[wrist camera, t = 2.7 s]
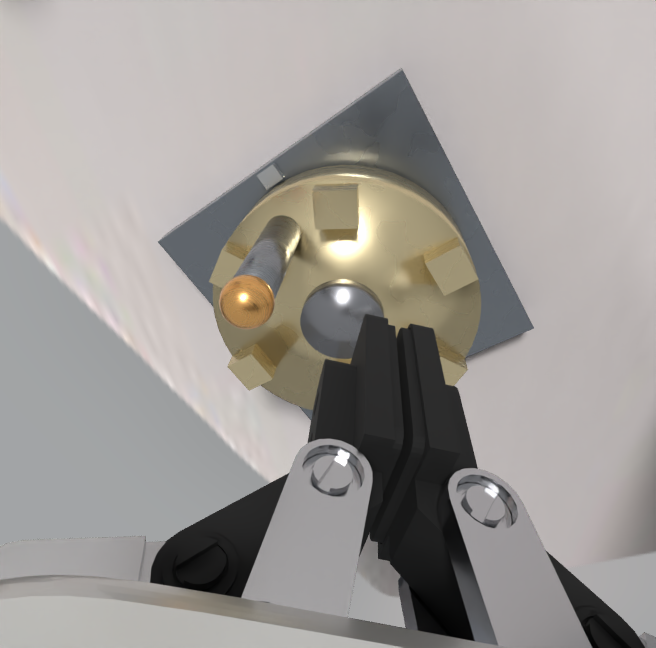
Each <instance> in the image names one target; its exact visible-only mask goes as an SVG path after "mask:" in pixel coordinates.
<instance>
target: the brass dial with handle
mask: <svg viewBox="0 0 656 648" xmlns="http://www.w3.org/2000/svg"><path fill="white" fill-rule="evenodd" d="M209 282H210V283H212V284H213V306H214V313H215V318H216V321H217V325H218V328H219V331H220V333H221V336H222V338H223V340H224V342H225V344H226V346H227V348H228V349H229V351H230V353H231V354H232V358H231V360H230V362H229V364H228V368H229V369H230V370H231V371H232V372H233V373H234V375H235V376H236V377H237V378H238V379H239V380H240V381H241V382H242V383H243V385H244V386H245V387H246V388H247V389H248V390H251V389H253V388H255V387H258V386H260V385H261V386H262V387H264V388H265V389H267V390H268V391H270V392H271V393H273V394H274V395H276V396H278V397H280V398H282V399H284V400H286V401H288V402H290V403H292V404H295V405H298V406H300V407H303V408H306V409H310V410H313V407H314V402H315V397H316V393H317V388H318V384H319V380H320V376H321V372H322V368H323V364H324V361H325V359H329V360H333V361H338V362H343V363H347V364H350V363H351V360H352V356H353V353H354V349H355V346H356V342H357V339H358V335H359V332H360V328H361V325H362V322H363V318H364V316H365V314H370V315H374V316H379V317H384V318H387V319H388V325H393V326H395V329H396V338H397V335H398V332H399V330H400V328H401V327H402V328H408V326H409V325H410V324H416V325H420V326H425V327H430V328H433V329H434V332H435V337H436V342H437V346H438V351H439V356H440V360H441V365H442V370H443V374H444V379H445V384H447V385H451V386H454V385H455V384H456V383H457V381H458V380H459V379H460V378H461V377H462V376H463V375H464V373H465V372H466V371H467V370H468V369H467V365H466V361H465V357H466V355H467V354H468V352H469V350H470V348H471V346H472V344H473V341H474V339H475V336H476V333H477V330H478V325H479V320H480V315H481V293H480V284H479V280H478V276H477V273H476V269H475V266H474V264H473V261H472V259H471V256H470V254H469V251H468V249H467V246H466V244H465V241H464V239H463V237H462V235H461V232H460V230H459V228H458V226H457V225H456V223H455V222H454V220H453V219H452V217H451V215H450V214H449V213H448V212H447V211H446V209H445V208H444V207H443V206H442V205H441V204H440V202H439V201H437V200H436V199H435V198H434V197H433V196H432V195H431V194H429V193H428V192H427V191H426V190H424V189H423V188H421V187H420V186H418V185H417V184H415V183H414V182H412V181H410V180H408V179H406V178H404V177H402V176H399V175H397V174H395V173H392V172H389V171H385V170H382V169H379V168H374V167H368V166H362V165H334V166H325V167H321V168H316V169H312V170H308V171H305V172H303V173H300V174H298V175H295V176H293V177H291V178H289V179H287V180H285V181H284V182H282V183H280V184H278V185H277V186H275V187H274V188H273V189H272V190H270V191H269V192H268V193H266V194H265V195H264V196H263V197H262V198H261V199H260V200H259V201H258V202H257V203H256V204H255V205H254V206H253V207H252V209H251V210H250V211H249V213H248V214H247V215H246V216H245V218H244V219H243V220H242V222H241V223H240V224H239V226H238V227H237V228H236V230H235V231H234V232H233V234H232V235H231V237H230V238H229V240H228V241H227V243H226V245H225V246H224V247H223V249H222V250H221V253H220V255H219V258H218V260H217V263H216V265H215V268H214V270H213V273H212V275H211V278H210V281H209Z"/></svg>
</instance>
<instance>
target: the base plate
mask: <svg viewBox="0 0 656 648" xmlns="http://www.w3.org/2000/svg"><path fill="white" fill-rule="evenodd" d="M334 165H362V166H368V167H374V168H379V169H382V170H385V171H389V172H392V173H395V174H397V175H399V176H402V177H404V178H406V179H408V180H410V181H412V182H414V183H415V184H417V185H418V186H420V187H421V188H423V189H424V190H426V191H427V192H428V193H429V194H431V195H432V196H433V197H434V198H435V199H436V200H437V201H439V202H440V204H441V205H442V206H443V207H444V208H445V209H446V211H447V212H448V213H449V214H450V215H451V217H452V219H453V220H454V222H455V223H456V225H457V226H458V228H459V230H460V232H461V235H462V237H463V239H464V241H465V244H466V246H467V249H468V251H469V254H470V256H471V259H472V261H473V264H474V266H475V269H476V273H477V276H478V280H479V284H480V293H481V315H480V320H479V325H478V330H477V333H476V336H475V339H474V341H473V344H472V346H471V348H470V350H469V352H468V354H467V355H466V357H468V356H470V355H472V354H475V353H477V352H479V351H482V350H484V349H486V348H489V347H491V346H493V345H496V344H498V343H501V342H503V341H505V340H508V339H510V338H512V337H515V336H517V335H519V334H522V333H524V332H526V331H529V330H531V329H533V328H534V327H533V325H532V323H531V321H530V319H529V317H528V315H527V313H526V312H525V310H524V308H523V306H522V304H521V302H520V300H519V298H518V296H517V294H516V292H515V290H514V288H513V286H512V284H511V282H510V280H509V278H508V276H507V274H506V272H505V270H504V268H503V266H502V264H501V262H500V260H499V258H498V257H497V255H496V253H495V251H494V249H493V247H492V245H491V243H490V241H489V239H488V237H487V235H486V233H485V231H484V229H483V227H482V225H481V223H480V221H479V219H478V217H477V215H476V213H475V211H474V209H473V207H472V205H471V203H470V201H469V200H468V198H467V196H466V194H465V192H464V190H463V188H462V186H461V184H460V182H459V180H458V178H457V176H456V174H455V172H454V170H453V168H452V166H451V164H450V162H449V160H448V158H447V156H446V154H445V152H444V150H443V148H442V146H441V145H440V143H439V141H438V139H437V137H436V135H435V133H434V131H433V129H432V127H431V125H430V123H429V121H428V119H427V117H426V115H425V113H424V111H423V109H422V107H421V105H420V103H419V101H418V99H417V97H416V95H415V93H414V91H413V89H412V88H411V86H410V84H409V82H408V80H407V78H406V76H405V74H404V72H403V70H402V68H401V69H399V70H398V71H396V72H395V73H394V74H392V75H391V76H389V77H388V78H387V79H385V80H384V81H382V82H381V83H379V84H378V85H377V86H375V87H374V88H372V89H371V90H370V91H368V92H367V93H365V94H364V95H362V96H361V97H360V98H358V99H357V100H355V101H354V102H353V103H351V104H350V105H348V106H347V107H345V108H344V109H343V110H341V111H340V112H338V113H337V114H336V115H334V116H333V117H331V118H330V119H328V120H327V121H326V122H324V123H323V124H321V125H320V126H319V127H317V128H316V129H314V130H313V131H311V132H310V133H309V134H307V135H306V136H304V137H303V138H302V139H300V140H299V141H297V142H296V143H294V144H293V145H292V146H290V147H289V148H287V149H286V150H285V151H283V152H282V153H280V154H279V155H277V156H276V157H275V158H273V159H272V160H270V161H269V162H268V163H266V164H265V165H263V166H262V167H260V168H259V169H258V170H256V171H255V172H253V173H252V174H251V175H249V176H248V177H246V178H245V179H243V180H242V181H241V182H239V183H238V184H236V185H235V186H234V187H232V188H231V189H229V190H228V191H226V192H225V193H224V194H222V195H221V196H219V197H218V198H217V199H215V200H214V201H212V202H211V203H209V204H208V205H207V206H205V207H204V208H202V209H201V210H200V211H198V212H197V213H195V214H194V215H192V216H191V217H190V218H188V219H187V220H185V221H184V222H183V223H181V224H180V225H178V226H177V227H175V228H174V229H173V230H171V231H170V232H168V233H167V234H166V235H165V236H164V237H163V238H162V239H161V240H160V241H158V243H159V244H160V245H161V246H162V247H163V248H164V250H165V251H166V252H167V253H168V254H169V255H170V257H171V258H172V259H173V260H174V261H175V262H176V264H177V265H178V266H179V267H180V268H181V269H182V271H183V272H184V273H185V274H186V275H187V276H188V278H189V279H190V280H191V281H192V282H193V283H194V285H195V286H196V287H197V288H198V289H199V290H200V292H201V293H202V294H203V295H204V296H205V297H206V299H207V300H208V301H209V302H210V303H211V304H212V306H213V284H212V283H210V282H209V281H210V278H211V275H212V273H213V270H214V268H215V265H216V263H217V260H218V258H219V255H220V253H221V250H222V249H223V247H224V246H225V245H226V243H227V241H228V240H229V238H230V237H231V235H232V234H233V232H234V231H235V230H236V228H237V227H238V226H239V224H240V223H241V222H242V220H243V219H244V218H245V216H246V215H247V214H248V213H249V211H250V210H251V209H252V207H253V206H254V205H255V204H256V203H257V202H258V201H259V200H260V199H261V198H262V197H263V196H264V195H265V194H266V193H268V192H269V191H270V190H272V189H273V188H274V187H275V186H277V185H278V184H280V183H282V182H284V181H285V180H287V179H289V178H291V177H293V176H295V175H298V174H300V173H303V172H305V171H308V170H312V169H316V168H321V167H325V166H334ZM213 307H214V306H213ZM299 407H300V406H299ZM300 408H301V409H302V410H303V411H304V413H305V414H306V415H307V416H308V417H309V418H310V420H311V419H312V413H313V410H310V409H306V408H303V407H300Z"/></svg>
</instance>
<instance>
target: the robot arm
mask: <svg viewBox="0 0 656 648" xmlns="http://www.w3.org/2000/svg"><path fill="white" fill-rule="evenodd" d="M369 532H370V540H371V541H375V542H378V559H382V560H388V561H390V564H391V565H392V566H393V567H394V568H395V570H396V571H397V572H398V573H399V574H400V577H399V580H398V585H399V595H400V600H401V605H402V611H403V616H404V621H405V627H406V628H401V627H396V626H391V625H385V624H380V623H374V622H369V621H363V620H358V619H353V618H348V614H349V609H350V603H351V597H352V592H353V587H354V580H355V576H356V570H357V565H358V559H359V556H360V554H361V551H362V549H363V547H364V544H365V542H366V540H367V537H368V535H369ZM0 648H656V637H654V636H652V635H649V634H647V633H645V632H644V633H643V634H642V635H641V636H639V637H638V636H637V634H636V633H635V631H634V630H633V629H632V628H631V627H630V626H629V625H628V624H627V623H626V622H625V621H624V620H623V619H622V618H621V617H620V616H619V615H618V614H617V613H616V612H615V611H613V610H612V609H611V608H610V607H609V606H608V605H607V604H605V603H604V602H603V601H602V600H601V599H600V598H599V597H598V596H596V595H595V594H594V593H593V592H592V591H591V590H590V589H588V588H587V587H586V586H585V585H584V584H583V583H582V582H580V581H579V580H578V579H577V578H576V577H575V576H574V575H573V574H571V572H569V571H568V570H567V569H566V568H565V567H564V566H563V565H562V564H560V563H559V562H558V561H557V560H556V559H555V558H554V557H553V556H551V555H550V554H549V553H548V552H547V551H546V550H545V548H544V546H543V544H542V542H541V540H540V538H539V536H538V533H537V531H536V529H535V527H534V525H533V523H532V521H531V519H530V517H529V515H528V512H527V510H526V508H525V506H524V504H523V502H522V501H521V499H520V498H519V496H518V494H517V493H516V492H515V491H514V490H513V489H512V488H511V486H510V485H509V484H508V483H506V482H505V481H504V480H502V479H501V478H499V477H498V476H496V475H494V474H492V473H490V472H488V471H485V470H481V469H478V468H477V464H476V460H475V456H474V452H473V447H472V443H471V439H470V435H469V431H468V427H467V423H466V419H465V415H464V411H463V407H462V403H461V399H460V395H459V391H458V389H457V388H456V387H455V386H451V385H447V384H445V379H444V374H443V370H442V365H441V360H440V356H439V351H438V346H437V342H436V337H435V332H434V329H433V328H430V327H425V326H420V325H416V324H410V325H409V326H408V328H402V327H401V328H400V330H399V332H398V335H397V338H396V329H395V326H393V325H388V319H387V318H384V317H379V316H374V315H370V314H365V316H364V318H363V322H362V325H361V328H360V332H359V335H358V339H357V342H356V346H355V349H354V353H353V356H352V360H351V363H350V364H347V363H343V362H338V361H333V360H329V359H325V361H324V364H323V368H322V372H321V376H320V380H319V384H318V388H317V393H316V397H315V402H314V407H313V413H312V419H311V425H310V432H309V438H308V444H306V445H305V446H303V447H302V448H301V449H300V451H299V452H298V454H297V455H296V457H295V459H294V462H293V465H292V467H291V470H290V472H289V473H288V474H286V475H285V476H283V477H281V478H279V479H277V480H275V481H273V482H272V483H270V484H268V485H266V486H264V487H262V488H260V489H259V490H257V491H255V492H253V493H251V494H249V495H247V496H245V497H244V498H242V499H240V500H238V501H236V502H234V503H232V504H230V505H228V506H227V507H225V508H223V509H221V510H219V511H217V512H215V513H214V514H212V515H210V516H208V517H206V518H204V519H202V520H200V521H199V522H197V523H195V524H193V525H191V526H189V527H187V528H185V529H184V530H182V531H180V532H178V533H177V534H176V535H174V536H173V537H171V538H170V539H169V540H167V541H158V542H146V537H145V536H130V537H98V538H69V539H40V540H39V539H38V540H21V541H17V542H11V543H6V544H4V545H2V546H0Z"/></svg>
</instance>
